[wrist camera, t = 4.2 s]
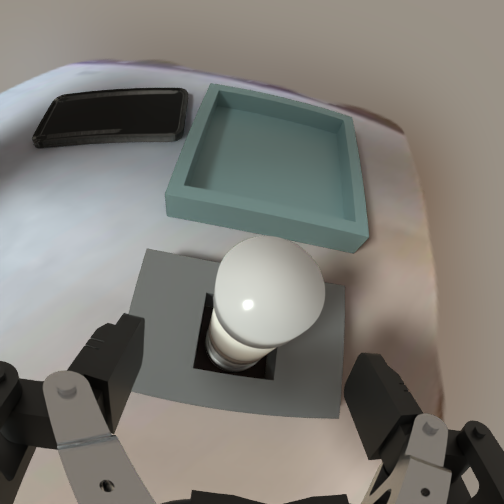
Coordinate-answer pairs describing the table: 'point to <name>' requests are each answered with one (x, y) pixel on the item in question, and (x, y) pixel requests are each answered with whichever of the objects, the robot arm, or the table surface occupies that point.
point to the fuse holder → (225, 385)
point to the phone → (114, 117)
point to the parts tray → (271, 170)
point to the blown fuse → (262, 301)
